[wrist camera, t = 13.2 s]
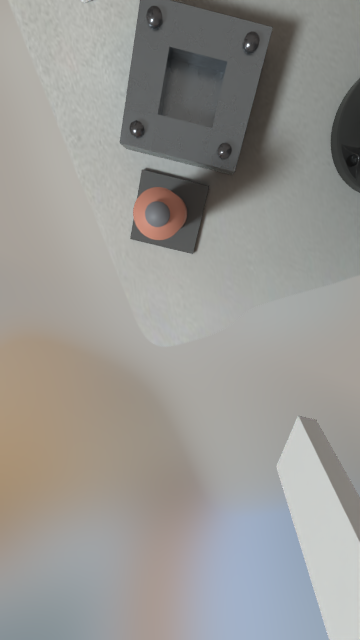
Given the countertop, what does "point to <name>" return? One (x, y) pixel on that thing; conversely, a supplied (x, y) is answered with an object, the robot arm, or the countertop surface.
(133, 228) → the rubber pad
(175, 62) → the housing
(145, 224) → the orange cylinder
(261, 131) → the countertop surface
